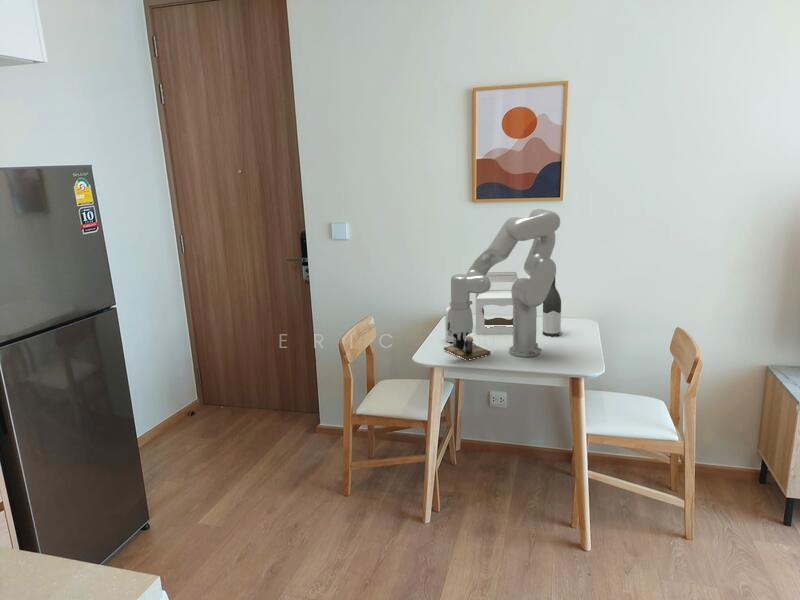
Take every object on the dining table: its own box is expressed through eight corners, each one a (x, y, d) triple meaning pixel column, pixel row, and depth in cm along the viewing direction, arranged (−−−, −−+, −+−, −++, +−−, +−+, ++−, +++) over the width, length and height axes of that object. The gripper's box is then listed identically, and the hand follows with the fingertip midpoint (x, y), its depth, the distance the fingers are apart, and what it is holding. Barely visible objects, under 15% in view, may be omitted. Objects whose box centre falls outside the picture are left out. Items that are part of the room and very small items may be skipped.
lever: (452, 343, 246) (451, 332, 245) (460, 342, 247) (460, 331, 246) (466, 354, 232) (466, 343, 230) (475, 353, 233) (475, 341, 232)
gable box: (475, 334, 264) (474, 276, 257) (475, 326, 277) (474, 270, 270) (524, 334, 262) (524, 274, 255) (521, 325, 274) (522, 269, 267)
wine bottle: (558, 331, 263) (560, 268, 255) (562, 336, 255) (563, 271, 248) (541, 331, 264) (542, 268, 256) (543, 337, 256) (544, 272, 249)
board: (490, 354, 237) (490, 340, 236) (466, 361, 231) (466, 346, 230) (467, 344, 251) (466, 331, 249) (444, 350, 245) (443, 336, 243)
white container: (465, 338, 259) (464, 300, 255) (462, 344, 252) (461, 305, 247) (447, 337, 262) (446, 300, 257) (444, 343, 254) (443, 304, 249)
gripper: (472, 301, 234) (471, 343, 238) (439, 305, 229) (439, 348, 233) (481, 305, 227) (480, 348, 232) (447, 309, 222) (447, 353, 226)
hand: (460, 348), depth 232 cm, fingers closed
